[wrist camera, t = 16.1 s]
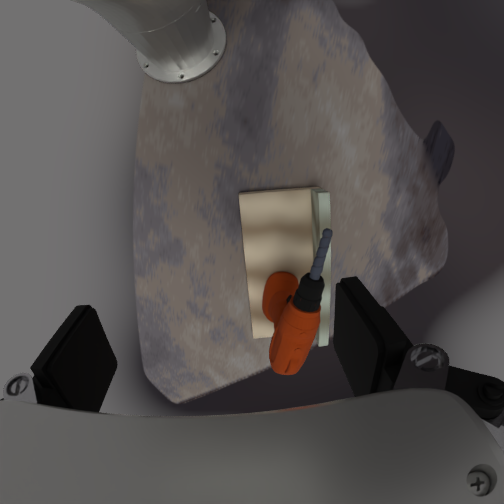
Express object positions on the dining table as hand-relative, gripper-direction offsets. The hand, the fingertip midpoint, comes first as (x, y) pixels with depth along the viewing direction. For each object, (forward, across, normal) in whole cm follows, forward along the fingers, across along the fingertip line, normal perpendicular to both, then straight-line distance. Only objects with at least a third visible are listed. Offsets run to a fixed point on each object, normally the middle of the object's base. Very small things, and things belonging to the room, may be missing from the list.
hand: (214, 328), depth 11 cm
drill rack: (+30, -6, +12) cm, 33 cm away
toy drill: (+28, -6, +11) cm, 31 cm away
